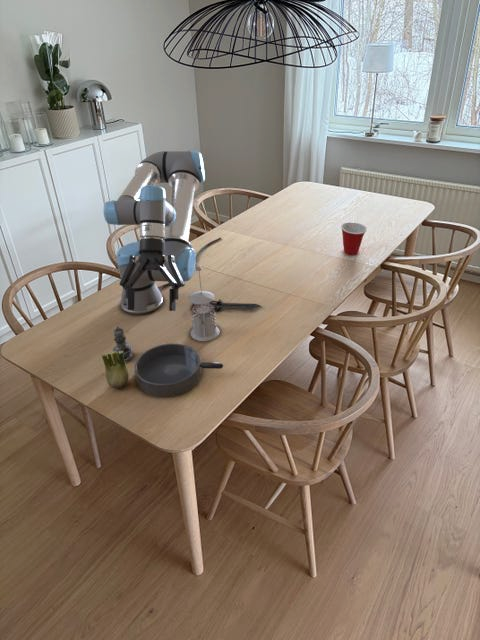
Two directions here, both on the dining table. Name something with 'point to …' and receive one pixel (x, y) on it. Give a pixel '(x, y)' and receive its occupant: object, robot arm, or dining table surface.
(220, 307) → the knife
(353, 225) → the plastic cup
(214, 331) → the french press
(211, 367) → the pan handle
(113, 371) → the fennel bulb
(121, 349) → the salt shaker
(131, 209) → the robot arm
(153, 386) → the pan
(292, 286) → the dining table surface
